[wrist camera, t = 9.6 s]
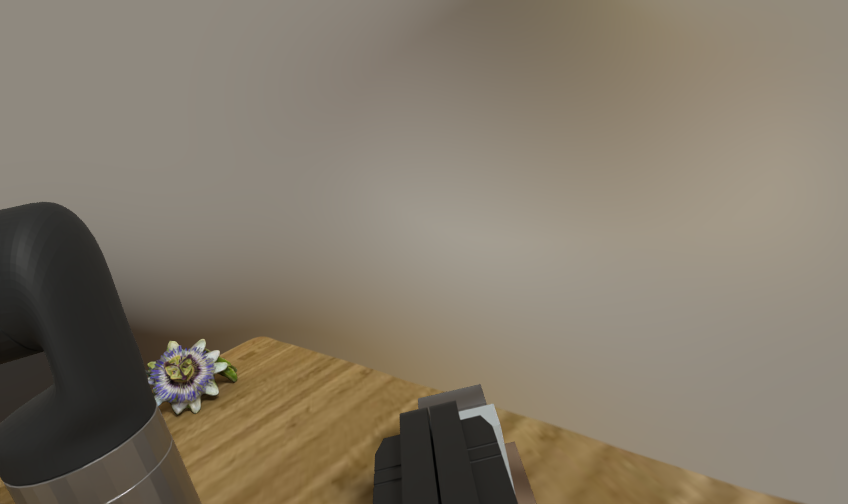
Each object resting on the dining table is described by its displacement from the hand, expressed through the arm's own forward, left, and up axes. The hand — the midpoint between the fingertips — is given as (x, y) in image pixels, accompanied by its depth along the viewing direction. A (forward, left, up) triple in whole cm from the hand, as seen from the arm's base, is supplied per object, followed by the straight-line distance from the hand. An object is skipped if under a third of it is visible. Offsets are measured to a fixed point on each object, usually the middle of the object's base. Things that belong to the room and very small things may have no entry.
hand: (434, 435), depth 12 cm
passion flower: (-66, +17, -25) cm, 72 cm away
